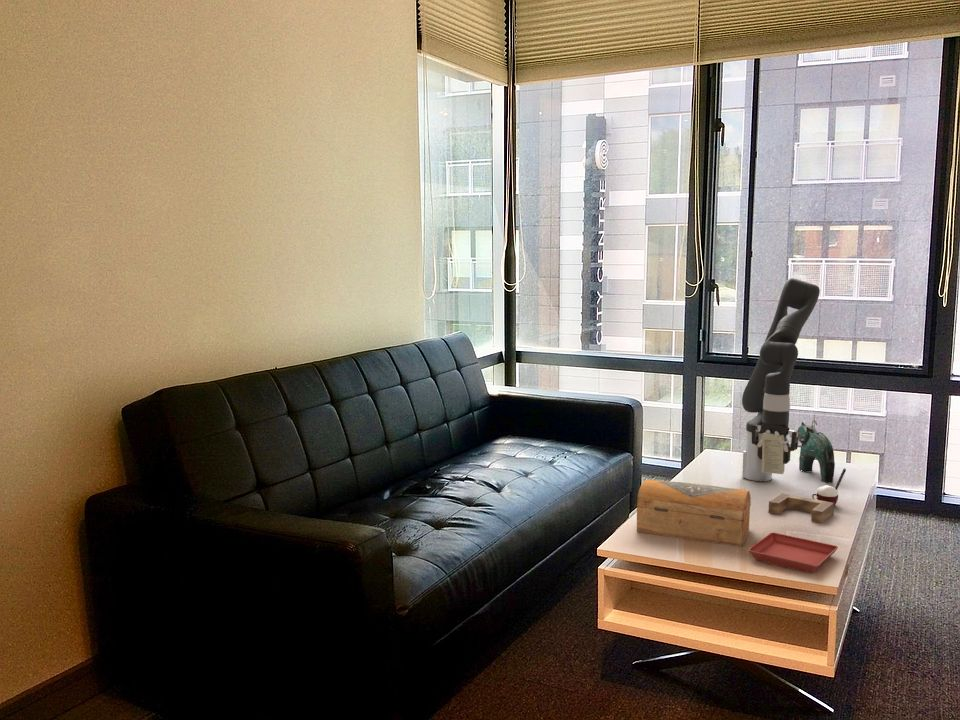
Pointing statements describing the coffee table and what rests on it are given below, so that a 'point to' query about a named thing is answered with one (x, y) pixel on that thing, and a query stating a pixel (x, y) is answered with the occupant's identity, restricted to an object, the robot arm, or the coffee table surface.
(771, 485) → the coffee table surface
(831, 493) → the cocoa
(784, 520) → the coffee table surface
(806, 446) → the ceramic cat
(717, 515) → the wooden box
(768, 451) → the skincare box
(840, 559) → the coffee table surface
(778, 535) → the plant saucer
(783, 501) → the wooden u-shaped block
